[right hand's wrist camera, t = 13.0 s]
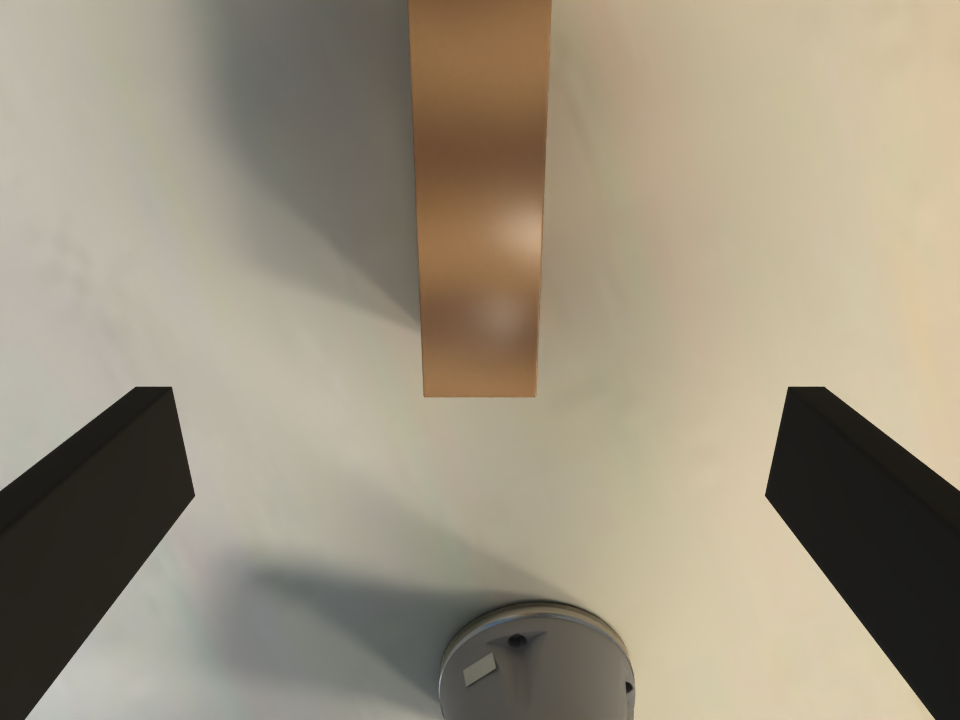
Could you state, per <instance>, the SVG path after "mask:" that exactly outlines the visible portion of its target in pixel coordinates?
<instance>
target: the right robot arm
mask: <svg viewBox="0 0 960 720" xmlns="http://www.w3.org/2000/svg"><path fill="white" fill-rule="evenodd" d="M194 497H195V493H194V488H193V484H192V479H191V474H190V470H189V465H188V460H187V456H186V451H185V446H184V442H183V437H182V432H181V428H180V423H179V418H178V414H177V409H176V404H175V400H174V395H173V390H172V387H135V388H134V389H132V390H131V391H130V392H128V393H127V394H126V395H124V396H123V397H122V398H121V399H119V400H118V401H117V402H115V403H114V404H113V405H112V406H110V407H109V408H108V409H106V410H105V411H104V412H102V413H101V414H100V415H99V416H97V417H96V418H95V419H93V420H92V421H91V422H89V423H88V424H87V425H86V426H84V427H83V428H82V429H80V430H79V431H78V432H76V433H75V434H74V435H73V436H71V437H70V438H69V439H67V440H66V441H65V442H63V443H62V444H61V445H60V446H58V447H57V448H56V449H54V450H53V451H52V452H51V453H49V454H48V455H47V456H45V457H44V458H43V459H41V460H40V461H39V462H38V463H36V464H35V465H34V466H32V467H31V468H30V469H28V470H27V471H26V472H25V473H23V474H22V475H21V476H19V477H18V478H17V479H15V480H14V481H13V482H12V483H10V484H9V485H8V486H6V487H5V488H4V489H3V490H1V491H0V720H25V719H26V717H27V716H28V715H29V713H30V712H31V711H32V709H33V708H34V707H35V705H36V704H37V703H38V701H39V700H40V699H41V698H42V696H43V695H44V694H45V692H46V691H47V690H48V688H49V687H50V686H51V684H52V683H53V682H54V680H55V679H56V678H57V676H58V675H59V674H60V673H61V671H62V670H63V669H64V667H65V666H66V665H67V663H68V662H69V661H70V659H71V658H72V657H73V655H74V654H75V653H76V652H77V650H78V649H79V648H80V646H81V645H82V644H83V642H84V641H85V640H86V638H87V637H88V636H89V634H90V633H91V632H92V631H93V629H94V628H95V627H96V625H97V624H98V623H99V621H100V620H101V619H102V617H103V616H104V615H105V613H106V612H107V611H108V609H109V608H110V607H111V606H112V604H113V603H114V602H115V600H116V599H117V598H118V596H119V595H120V594H121V592H122V591H123V590H124V588H125V587H126V586H127V585H128V583H129V582H130V581H131V579H132V578H133V577H134V575H135V574H136V573H137V571H138V570H139V569H140V567H141V566H142V565H143V564H144V562H145V561H146V560H147V558H148V557H149V556H150V554H151V553H152V552H153V550H154V549H155V548H156V546H157V545H158V544H159V543H160V541H161V540H162V539H163V537H164V536H165V535H166V533H167V532H168V531H169V529H170V528H171V527H172V525H173V524H174V523H175V521H176V520H177V519H178V518H179V516H180V515H181V514H182V512H183V511H184V510H185V508H186V507H187V506H188V504H189V503H190V502H191V500H192V499H193V498H194ZM765 497H766V498H767V499H768V500H769V502H770V503H771V504H772V506H773V507H774V508H775V510H776V511H777V512H778V514H779V515H780V516H781V518H782V519H783V520H784V521H785V523H786V524H787V525H788V527H789V528H790V529H791V531H792V532H793V533H794V535H795V536H796V537H797V539H798V540H799V541H800V543H801V544H802V545H803V546H804V548H805V549H806V550H807V552H808V553H809V554H810V556H811V557H812V558H813V560H814V561H815V562H816V564H817V565H818V566H819V567H820V569H821V570H822V571H823V573H824V574H825V575H826V577H827V578H828V579H829V581H830V582H831V583H832V585H833V586H834V587H835V588H836V590H837V591H838V592H839V594H840V595H841V596H842V598H843V599H844V600H845V602H846V603H847V604H848V606H849V607H850V608H851V610H852V611H853V612H854V613H855V615H856V616H857V617H858V619H859V620H860V621H861V623H862V624H863V625H864V627H865V628H866V629H867V631H868V632H869V633H870V634H871V636H872V637H873V638H874V640H875V641H876V642H877V644H878V645H879V646H880V648H881V649H882V650H883V652H884V653H885V654H886V655H887V657H888V658H889V659H890V661H891V662H892V663H893V665H894V666H895V667H896V669H897V670H898V671H899V673H900V674H901V675H902V676H903V678H904V679H905V680H906V682H907V683H908V684H909V686H910V687H911V688H912V690H913V691H914V692H915V694H916V695H917V696H918V698H919V699H920V700H921V701H922V703H923V704H924V705H925V707H926V708H927V709H928V711H929V712H930V713H931V715H932V716H933V717H934V719H935V720H960V491H959V490H957V489H956V488H955V487H954V486H952V485H951V484H950V483H948V482H947V481H946V480H945V479H943V478H942V477H941V476H939V475H938V474H937V473H935V472H934V471H933V470H932V469H930V468H929V467H928V466H926V465H925V464H924V463H922V462H921V461H920V460H919V459H917V458H916V457H915V456H913V455H912V454H911V453H909V452H908V451H907V450H906V449H904V448H903V447H902V446H900V445H899V444H898V443H897V442H895V441H894V440H893V439H891V438H890V437H889V436H887V435H886V434H885V433H884V432H882V431H881V430H880V429H878V428H877V427H876V426H874V425H873V424H872V423H871V422H869V421H868V420H867V419H865V418H864V417H863V416H861V415H860V414H859V413H858V412H856V411H855V410H854V409H852V408H851V407H850V406H848V405H847V404H846V403H845V402H843V401H842V400H841V399H839V398H838V397H837V396H836V395H834V394H833V393H832V392H830V391H829V390H828V389H826V388H825V387H788V390H787V395H786V400H785V404H784V409H783V414H782V418H781V423H780V428H779V432H778V437H777V442H776V446H775V451H774V456H773V460H772V465H771V470H770V474H769V479H768V484H767V488H766V493H765ZM439 697H440V706H441V711H442V714H443V717H444V719H445V720H633V717H634V704H635V683H634V674H633V670H632V666H631V663H630V659H629V656H628V653H627V650H626V648H625V646H624V644H623V642H622V641H621V639H620V638H619V636H618V635H617V634H616V633H615V632H614V631H613V630H612V629H611V628H610V627H609V626H608V625H607V624H606V623H604V622H603V621H602V620H600V619H598V618H597V617H595V616H593V615H591V614H589V613H587V612H585V611H582V610H580V609H577V608H574V607H570V606H566V605H561V604H554V603H522V604H516V605H511V606H507V607H503V608H500V609H497V610H494V611H491V612H489V613H487V614H484V615H483V616H481V617H479V618H477V619H475V620H474V621H472V622H471V623H469V624H468V625H467V626H465V627H464V628H463V629H462V630H461V631H460V632H459V633H458V634H457V635H456V636H455V637H454V638H453V640H452V641H451V642H450V644H449V645H448V647H447V649H446V651H445V653H444V656H443V658H442V662H441V667H440V680H439Z"/></svg>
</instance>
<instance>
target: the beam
mask: <svg viewBox="0 0 960 720" xmlns="http://www.w3.org/2000/svg"><path fill="white" fill-rule="evenodd" d="M551 2H552V0H408V21H409V45H410V70H411V95H412V120H413V145H414V170H415V194H416V219H417V244H418V269H419V294H420V319H421V343H422V368H423V393H424V397H536V390H537V364H538V338H539V312H540V287H541V261H542V235H543V209H544V183H545V157H546V131H547V105H548V79H549V54H550V28H551Z"/></svg>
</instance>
